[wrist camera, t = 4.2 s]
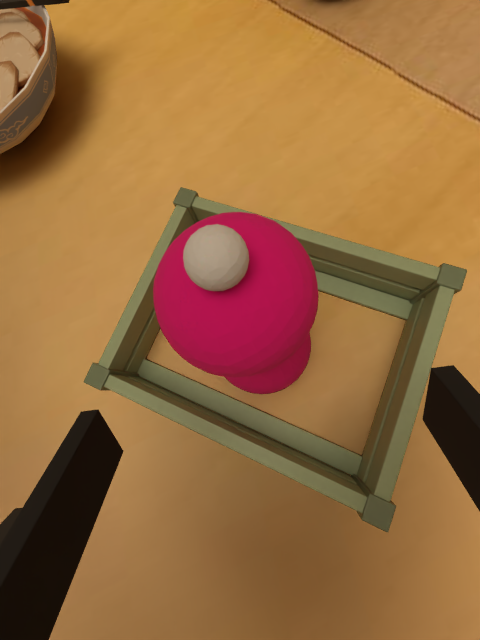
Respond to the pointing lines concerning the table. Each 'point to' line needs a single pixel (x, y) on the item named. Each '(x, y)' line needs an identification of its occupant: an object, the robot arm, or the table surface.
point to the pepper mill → (238, 300)
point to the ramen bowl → (25, 68)
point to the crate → (366, 471)
